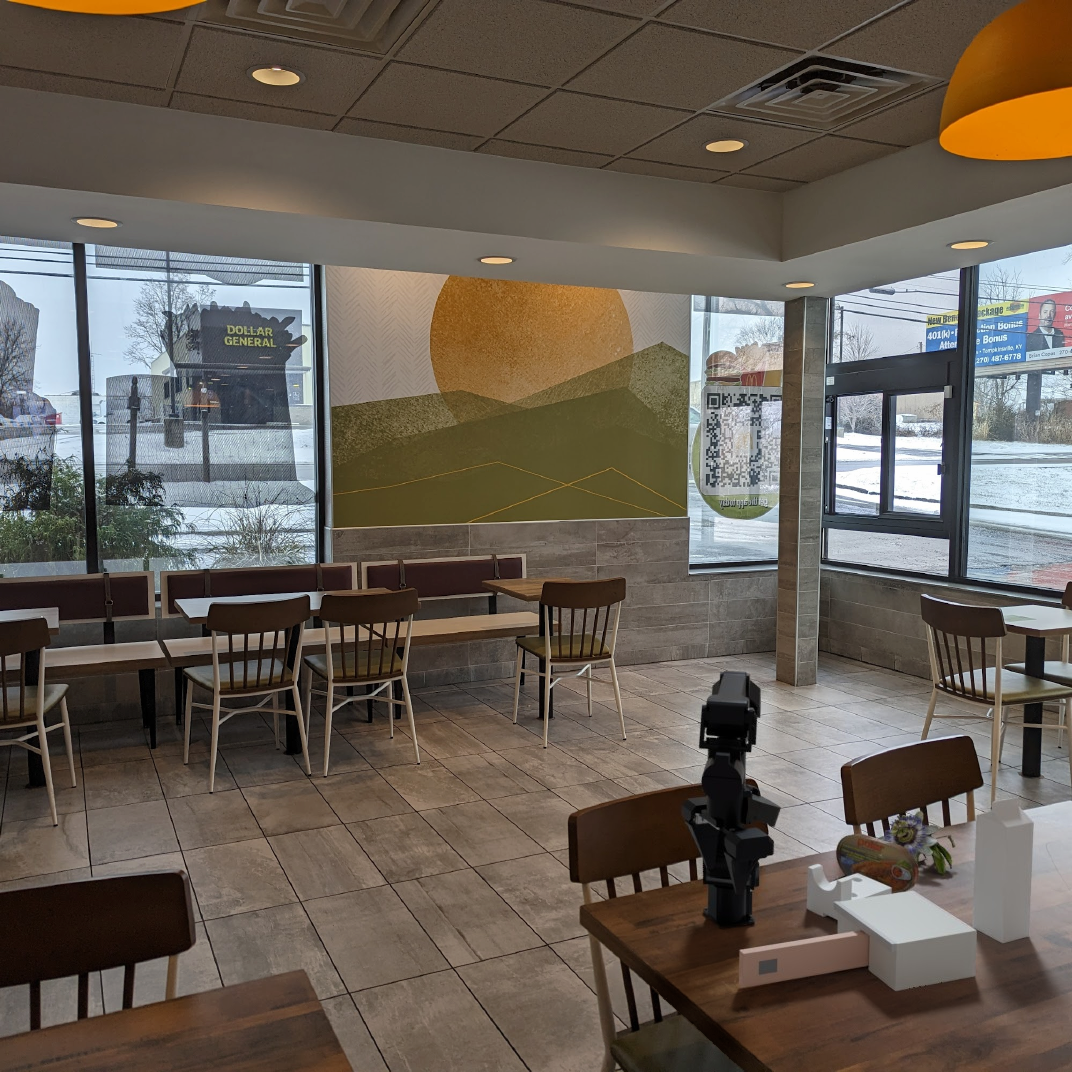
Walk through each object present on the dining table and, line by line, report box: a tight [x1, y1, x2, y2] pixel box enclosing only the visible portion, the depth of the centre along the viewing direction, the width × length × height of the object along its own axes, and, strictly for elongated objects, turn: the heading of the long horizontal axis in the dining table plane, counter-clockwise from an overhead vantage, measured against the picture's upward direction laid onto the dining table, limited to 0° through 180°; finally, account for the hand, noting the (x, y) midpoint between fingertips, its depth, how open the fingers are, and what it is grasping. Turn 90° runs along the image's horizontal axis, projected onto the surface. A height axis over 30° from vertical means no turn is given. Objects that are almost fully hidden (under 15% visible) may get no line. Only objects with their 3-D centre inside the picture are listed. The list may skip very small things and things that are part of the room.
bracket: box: [806, 863, 892, 921], centre depth 163 cm, size 13×7×8 cm, turn 123°
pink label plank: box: [738, 930, 870, 989], centre depth 141 cm, size 22×1×5 cm, turn 107°
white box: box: [834, 890, 978, 992], centre depth 146 cm, size 15×14×7 cm
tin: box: [835, 833, 919, 894], centre depth 172 cm, size 15×3×8 cm, turn 41°
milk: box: [971, 796, 1034, 944], centre depth 154 cm, size 6×6×22 cm
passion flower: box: [877, 810, 956, 875], centre depth 182 cm, size 11×11×12 cm
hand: (724, 880), depth 146 cm, fingers open, 9 cm apart
